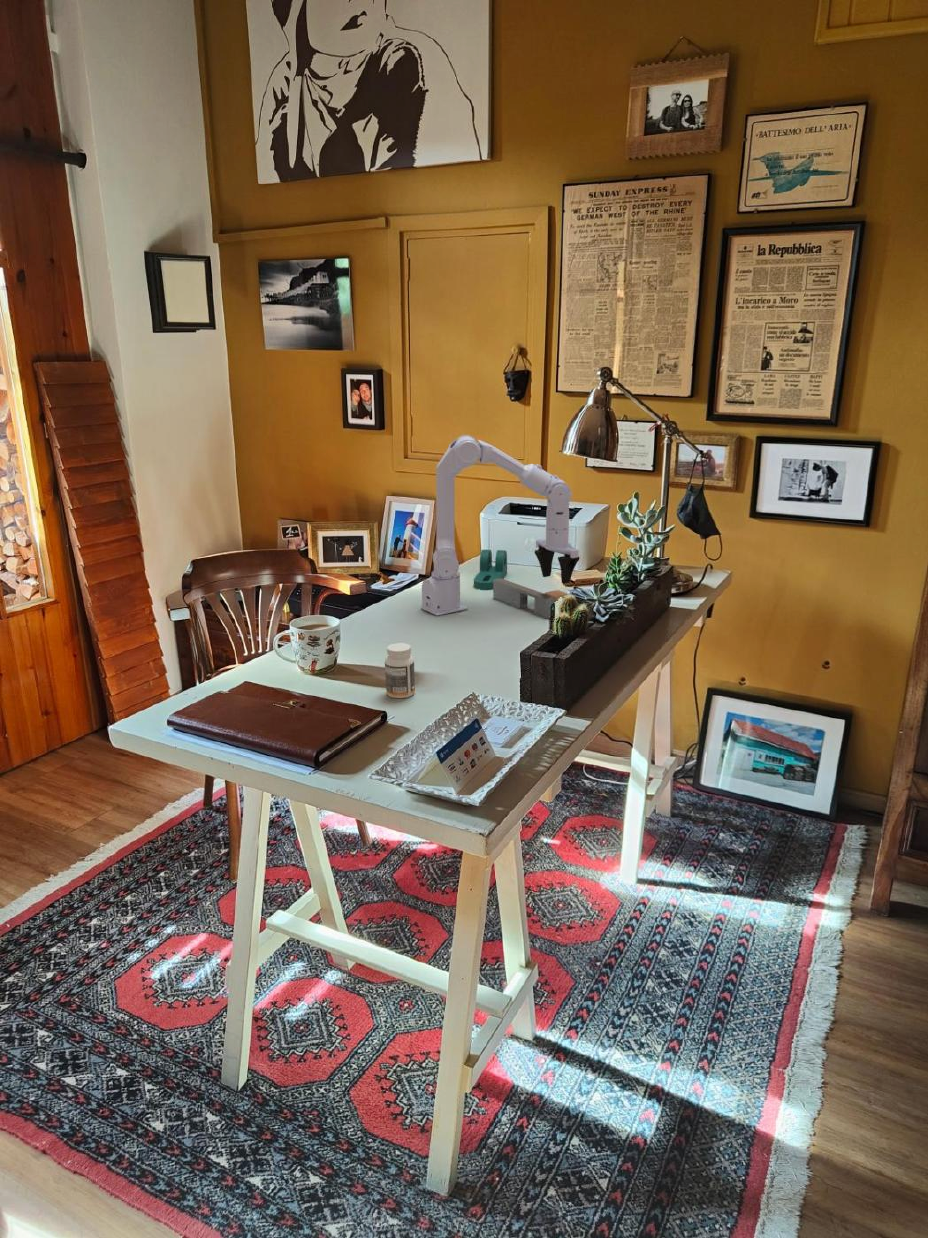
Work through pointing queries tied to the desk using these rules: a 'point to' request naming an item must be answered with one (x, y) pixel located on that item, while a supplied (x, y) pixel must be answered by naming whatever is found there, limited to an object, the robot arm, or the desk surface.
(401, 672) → the pill bottle
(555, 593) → the plug
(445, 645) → the desk surface
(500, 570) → the bracket
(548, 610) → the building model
